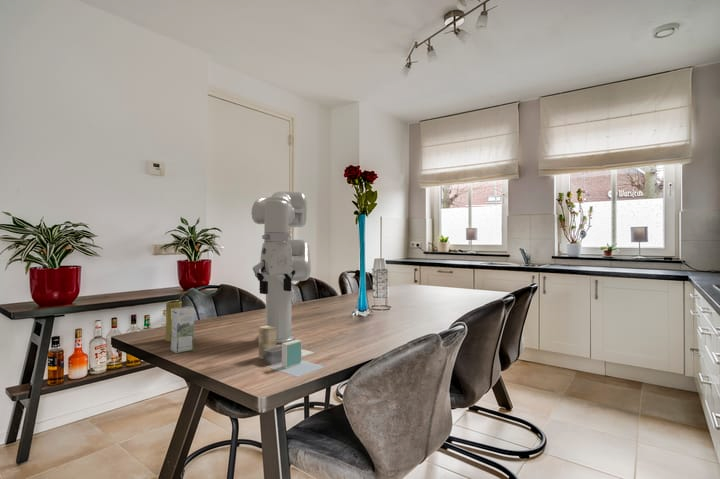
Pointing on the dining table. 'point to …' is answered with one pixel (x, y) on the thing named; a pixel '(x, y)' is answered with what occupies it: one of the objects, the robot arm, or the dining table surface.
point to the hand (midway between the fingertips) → (275, 292)
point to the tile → (291, 353)
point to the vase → (168, 317)
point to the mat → (298, 368)
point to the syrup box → (182, 329)
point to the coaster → (306, 353)
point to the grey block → (269, 346)
